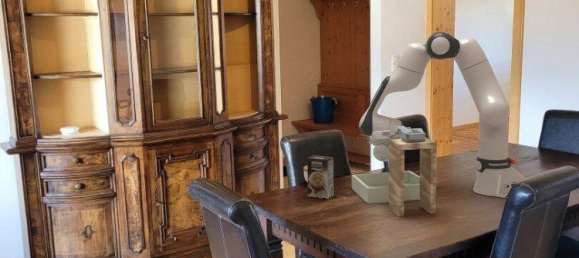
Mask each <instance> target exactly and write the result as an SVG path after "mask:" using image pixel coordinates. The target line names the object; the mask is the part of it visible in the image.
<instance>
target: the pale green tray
mask: <svg viewBox="0 0 579 258" xmlns="http://www.w3.org/2000/svg"><path fill="white" fill-rule="evenodd" d="M351 190H352V191H354V192H355V194H356V195H357V196H359V197H360V198H361V199H362V200H363V201H364V202H365V203H366V204H367V205H369V204H380V203H381V204H382V203H383V204H384V203H389V171H388V172H387V171H386V172H385V171H384V172H374V173H373V172H372V173H360V174H359V173H358V174H351ZM419 195H420V175H418V174H416V173H415V172H413V171H411V170H404V202H407V201H419Z"/></svg>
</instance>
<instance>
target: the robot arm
mask: <svg viewBox="0 0 579 258" xmlns="http://www.w3.org/2000/svg"><path fill="white" fill-rule="evenodd" d="M447 59H453V60H454V61H455V62H456V65H457V67H458V69H459V71H460V73H461V76H462V77H463V80H464V82H465V84H466V87H467V89H468V91H469V93H470V95H471V98H472V100H473V102H474V104H475V107H476V109H477V112H478V117H479V118H478V143H477V144H478V149H477V150H478V151H477V152H478V153H477V157H476V176H475V181H474V186H473V188H472V191H473V192H474V193H476V194H478V195H483V196H489V197H497V198H502V199H503V198H507V197H506V196H507V194H508V192H509V190H510V188H511V187H512V186H513V185H514V184H516V183H518V182H520V181H522V180H524V179H525V180H526V178H525V176H524V175H523V174H522V173H520V172H519V171H518V170H516V168H514V167H513V166H512V165H516V164H517V159H516V158H515V159H514V158H510V157H509V156H508V151H509V150H508V148H509V118H510V115H511V109H510V105H509V102H508V101H507V98H506V96H505V94H504V91H503V90H502V87H501V86H500V83H499V81H498V79H497V76H496V74H495V73H494V70H493V68H492V66H491V63H490V62H489V59H488V57H487V54H486V53H485V51H484V49H483V48H482V46H481V45H480V44H479V42H478V41H477V40H476V39H475V38H473V37H464V38H461V39H457V38H455V36H453V35H451V34H450V33H449V32H446V31H436V32H435V33H432V34H431V35H430V36H429V38H428V39H427V40H426V41H425V42H424V43H421V42H417V41H416V42H410V43H408V44H407V45H405V48H404V49H403V52H402V54H401V56H400V58H399V61H398V63H397V67H396V68H395V70H394V71H393V73H392V74H391V75H389V76H385V78H384V79H383V80H382V81H381V83H380V85H379V87H378V88H377V90H376V92H375V94H374V96H373V97H372V99H371V102H370V103H369V105H368V106H367V108H366V110H365V112H364V114H363V115H362V116H361V118H360V120H359V123H358V129H359V131H360V132H361V133H362V135H364V136H367V137H370V139H369V140H368V141H367V143H368V144H370V145H372V146H374V148H373V150H372V155H373V157H374V158H375V160H377V161H379V162H383V163H384V162H389V140H390V139H400V134H399V132H400V130H399V128H396V126H404V123H403V122H402V120H399V119H397V118H393V117H390V116H386V115H383V114H379V113H378V111H379V110H380V108H381V106H382V104H383V102H384V101H385V99H386V97H387V96H388V95H389V94H394V93H400V92H409V91H412V90H414V89H416V88H417V87H418V86H420V84H421V82H422V79H423V77H424V74H425V71H426V68H427V66H428V64H429V62H430V61H432V60H436V61H437V60H438V61H443V60H447ZM405 127H406V126H405ZM406 128H408V129H409V130H411V131H412V132H414V133H416V129H419V130H421V131H423V132H424V130H423V128H419V127H417V128H411V127H410V126H409V127H408V126H407V127H406Z"/></svg>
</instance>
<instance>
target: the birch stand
mask: <svg viewBox="0 0 579 258" xmlns="http://www.w3.org/2000/svg"><path fill="white" fill-rule="evenodd" d="M437 145H438V142H437V141H435V140H432V139H430V138H428V137H426V138H425V142H413V143H406V142H405V141H403V140H402V139H390V140H389V160H388V172H389V202H388V208H389V209H390V211H392V212H393V214H395V215H396V216H397V217H404V216H405V201H404V171H405V151H407V150H409V151H410V150H419V176H420V195H419V200H418V201H419V207H421V208H422V210H425V212H427V213H429V214H436V211H437V159H438V158H437V154H438V153H437V151H438V149H437V148H438V146H437Z"/></svg>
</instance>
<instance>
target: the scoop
mask: <svg viewBox="0 0 579 258" xmlns="http://www.w3.org/2000/svg"><path fill="white" fill-rule="evenodd" d="M396 128H399V130H400V132H399V134H400V139H402V140H403V141H405V142H406V143H413V142H425V138H427V137H426V136H427V135H426V134H427V133H426V132H424V130H423V131H421V130H419V129H418V128H415V129H416V133H414V132H412V131H411V130H409V129H408V128H406V126H396Z"/></svg>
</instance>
